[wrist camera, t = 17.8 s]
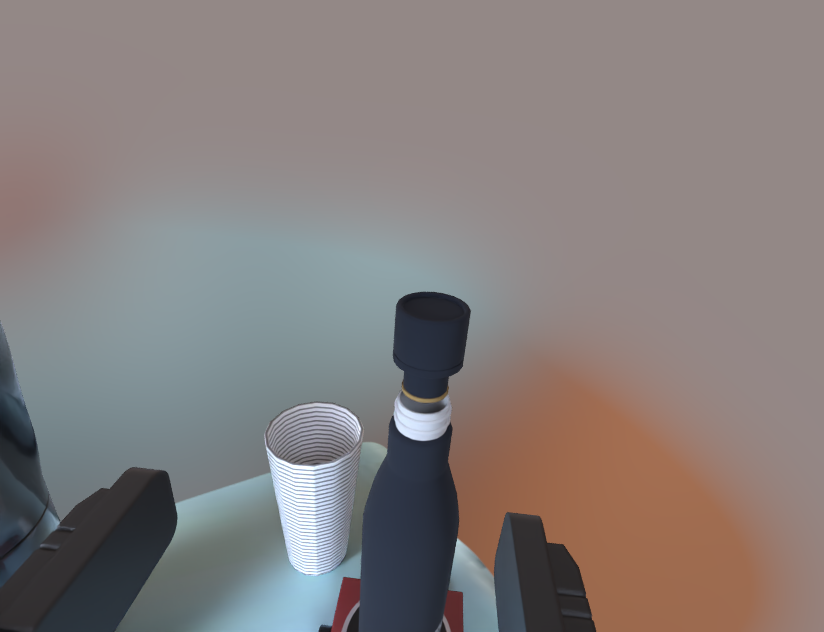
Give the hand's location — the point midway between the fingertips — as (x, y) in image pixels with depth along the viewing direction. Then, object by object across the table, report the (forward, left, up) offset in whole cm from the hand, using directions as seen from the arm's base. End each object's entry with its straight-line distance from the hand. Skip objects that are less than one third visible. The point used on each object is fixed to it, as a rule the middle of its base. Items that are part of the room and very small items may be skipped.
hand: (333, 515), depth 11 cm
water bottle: (+2, +14, -31) cm, 34 cm away
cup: (-7, +23, -34) cm, 41 cm away
